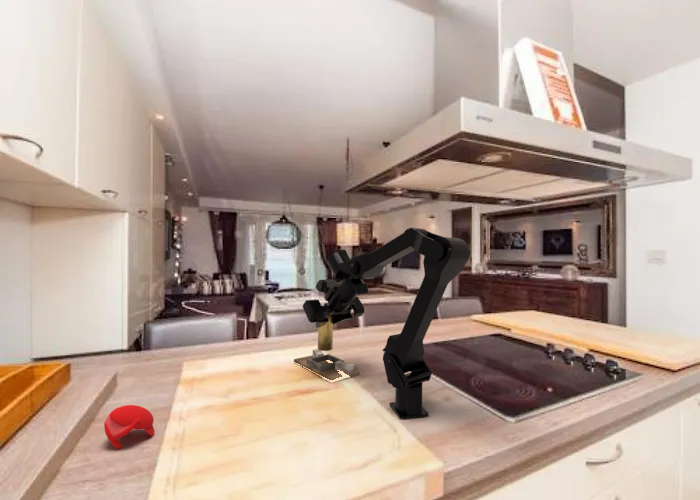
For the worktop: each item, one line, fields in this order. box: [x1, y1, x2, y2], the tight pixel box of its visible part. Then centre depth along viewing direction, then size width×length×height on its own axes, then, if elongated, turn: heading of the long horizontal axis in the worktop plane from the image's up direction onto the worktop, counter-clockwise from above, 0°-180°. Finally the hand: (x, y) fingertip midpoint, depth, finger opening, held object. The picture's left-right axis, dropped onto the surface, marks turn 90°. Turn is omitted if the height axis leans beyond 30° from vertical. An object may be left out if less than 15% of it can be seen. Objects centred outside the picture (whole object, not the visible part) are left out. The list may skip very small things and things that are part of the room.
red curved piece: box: [103, 404, 155, 450], centre depth 55 cm, size 8×6×6 cm
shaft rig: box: [293, 348, 361, 380], centre depth 93 cm, size 20×10×3 cm, turn 39°
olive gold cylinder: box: [317, 304, 334, 352], centre depth 93 cm, size 4×4×12 cm
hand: (323, 325), depth 94 cm, fingers closed on olive gold cylinder, 4 cm apart
